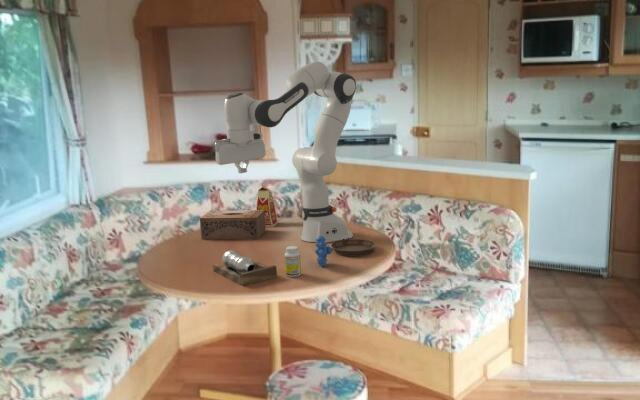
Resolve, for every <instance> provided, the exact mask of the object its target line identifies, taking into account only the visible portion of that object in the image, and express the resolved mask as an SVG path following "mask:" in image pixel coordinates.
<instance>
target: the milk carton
mask: <svg viewBox="0 0 640 400" xmlns="http://www.w3.org/2000/svg"><path fill="white" fill-rule="evenodd" d="M256 210H264V214H265V228H274V227H275V226H276V225H277V224H278V216H277V212H276V211H277V210H276V206H275V200H274V197H273V191H272V190H271V189H269V188H268V187H267V185H266V184H265V185H264V184H261V187H260V188H259V189H258V191H257V198H256Z"/></svg>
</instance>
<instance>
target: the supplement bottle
mask: <svg viewBox="0 0 640 400" xmlns="http://www.w3.org/2000/svg"><path fill="white" fill-rule="evenodd" d="M285 249H286V250H285V251H286V252H285V253H284V265H285V267H284V268H285V269H284V270H285V275H286V276H287V277H289V278H296V277H299V276H301V274H302V266H301V263H302V262H301V253H300V251H298V250H299V249H298V246H296V245H289V246H287V247H286V248H285Z"/></svg>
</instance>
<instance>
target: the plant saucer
mask: <svg viewBox="0 0 640 400" xmlns="http://www.w3.org/2000/svg"><path fill="white" fill-rule="evenodd" d="M376 245H377V244H376V243H375V242H374V241H372V240H368V239H361V238H355V239H354V238H349V239H344V240H338V241H333V243H331V245H330V247H331V248H332V249H333V251H334V252H335V253H336V254H338V255H340V256H345V257H360V256H366V255H368V254H370V253H371V252H372V251H373V250H374V249H375V247H376Z"/></svg>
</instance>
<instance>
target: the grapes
mask: <svg viewBox="0 0 640 400" xmlns="http://www.w3.org/2000/svg"><path fill="white" fill-rule="evenodd" d="M325 240H326V239H325V238H324V237H323V236H318V238H317V239H316V241H317V242H316V244H315V247H316V249H315V251H314V252H315V255H317V256H318V257H317V258H316V261H317V264H318V265H319V266H320V267H324V266H325V265H327V261H328V259H327V257H328V255H331V253H332V252H333V251H334V250H333V249H332V247H331V246H329V245H327V243H325Z"/></svg>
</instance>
